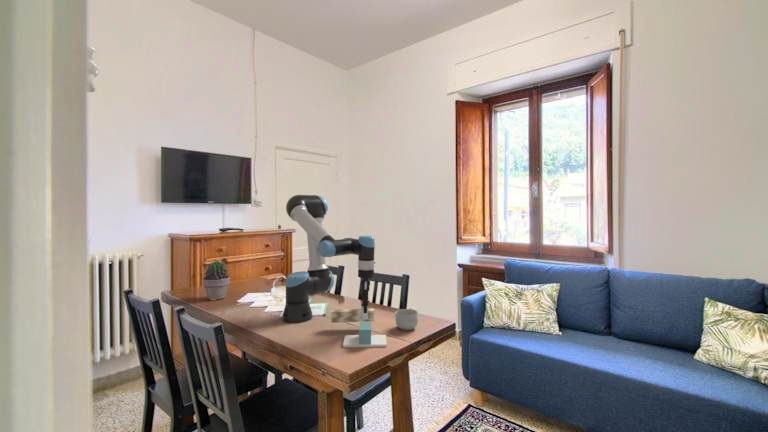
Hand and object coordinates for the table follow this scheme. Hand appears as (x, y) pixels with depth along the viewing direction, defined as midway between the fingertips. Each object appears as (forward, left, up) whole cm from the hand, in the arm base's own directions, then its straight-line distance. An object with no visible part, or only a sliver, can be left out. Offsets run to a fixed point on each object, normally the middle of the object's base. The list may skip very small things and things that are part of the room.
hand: (365, 317), depth 165 cm
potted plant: (-96, +57, -5) cm, 111 cm away
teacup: (+20, +2, -5) cm, 21 cm away
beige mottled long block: (-6, 0, -1) cm, 6 cm away
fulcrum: (0, -16, -5) cm, 17 cm away
